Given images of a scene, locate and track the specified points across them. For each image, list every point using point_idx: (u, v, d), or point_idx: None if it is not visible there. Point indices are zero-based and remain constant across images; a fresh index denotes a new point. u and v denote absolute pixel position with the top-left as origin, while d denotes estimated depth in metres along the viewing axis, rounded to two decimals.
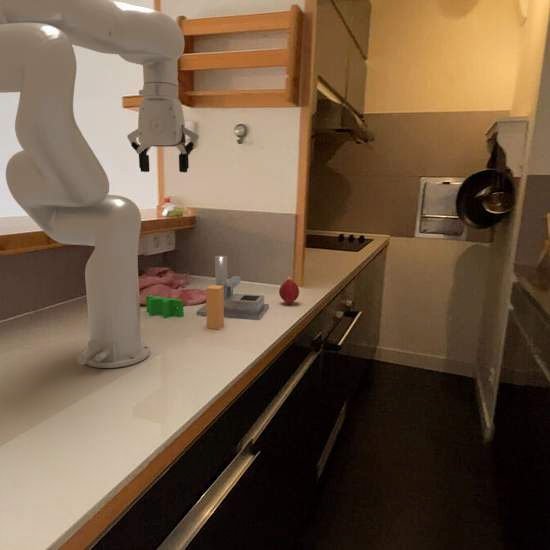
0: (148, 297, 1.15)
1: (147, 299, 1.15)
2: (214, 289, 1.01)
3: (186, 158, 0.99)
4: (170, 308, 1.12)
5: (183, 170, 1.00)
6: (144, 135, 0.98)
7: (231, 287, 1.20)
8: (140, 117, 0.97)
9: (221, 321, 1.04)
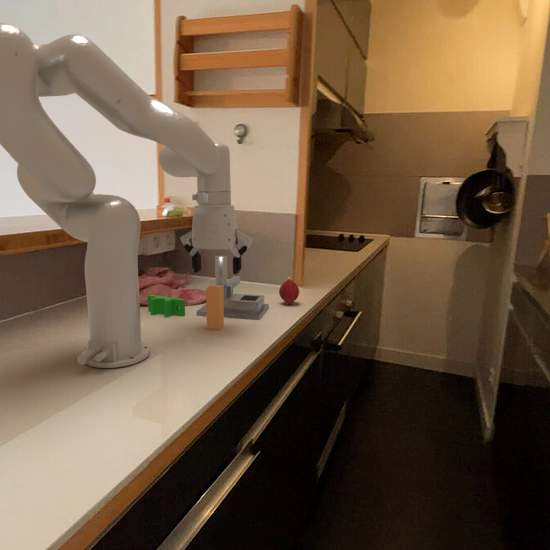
0: (150, 296, 1.16)
1: (149, 298, 1.16)
2: (214, 289, 1.01)
3: (240, 260, 1.00)
4: (172, 307, 1.13)
5: (237, 272, 1.01)
6: (198, 240, 0.98)
7: (231, 287, 1.20)
8: (194, 223, 0.98)
9: (221, 321, 1.04)
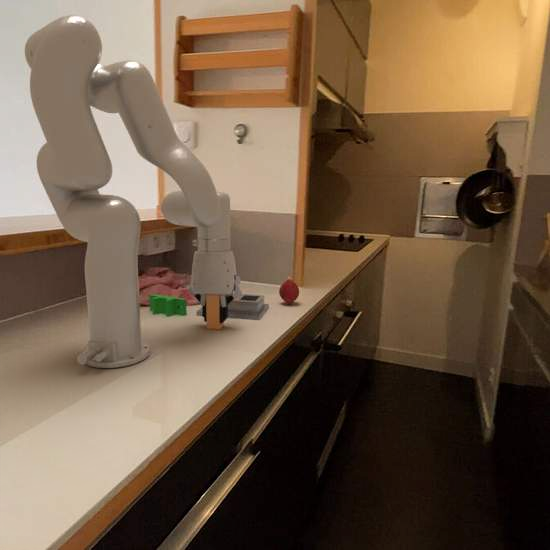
0: (151, 296, 1.16)
1: (150, 298, 1.17)
2: None
3: (226, 309, 1.03)
4: (173, 307, 1.14)
5: (223, 321, 1.03)
6: (197, 285, 1.00)
7: None
8: (194, 268, 1.00)
9: None
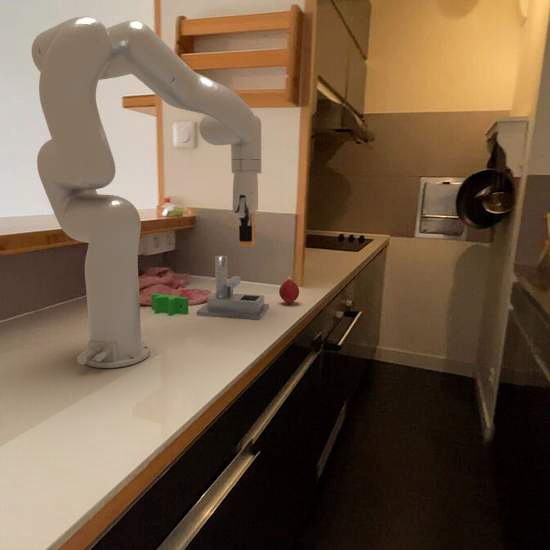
0: (153, 295, 1.17)
1: (152, 297, 1.17)
2: None
3: (243, 229, 1.08)
4: (175, 306, 1.14)
5: (242, 240, 1.10)
6: None
7: (231, 287, 1.20)
8: None
9: None
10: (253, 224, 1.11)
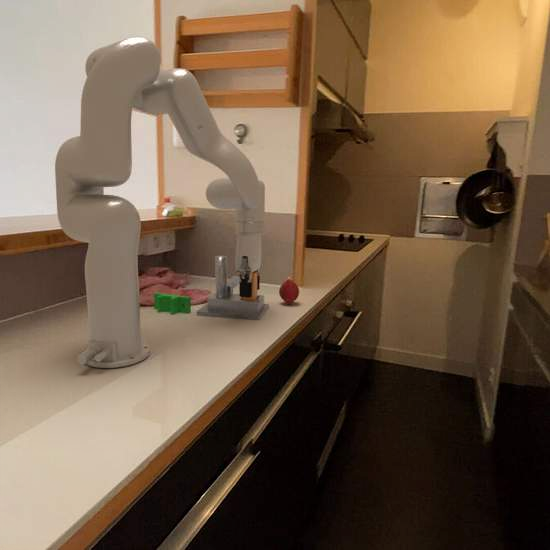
0: (156, 294, 1.18)
1: (155, 296, 1.18)
2: None
3: (243, 286, 1.10)
4: (178, 305, 1.15)
5: (242, 295, 1.12)
6: None
7: (231, 287, 1.20)
8: None
9: None
10: (255, 288, 1.16)
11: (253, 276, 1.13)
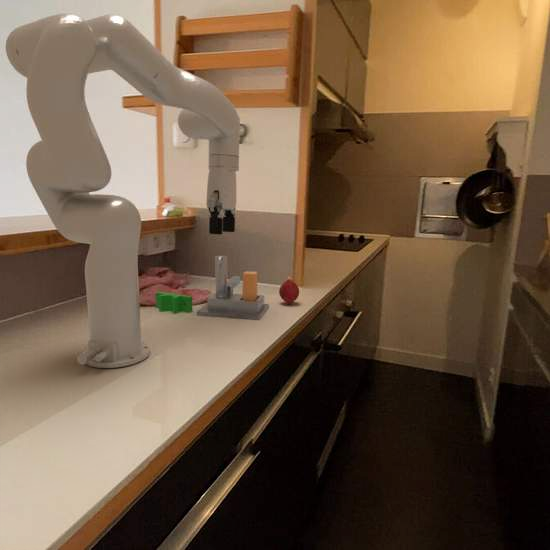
0: (158, 294, 1.19)
1: (157, 296, 1.19)
2: (244, 273, 1.15)
3: (213, 221, 1.04)
4: (179, 304, 1.16)
5: (212, 232, 1.05)
6: None
7: (231, 287, 1.20)
8: None
9: None
10: (255, 288, 1.16)
11: (253, 276, 1.13)
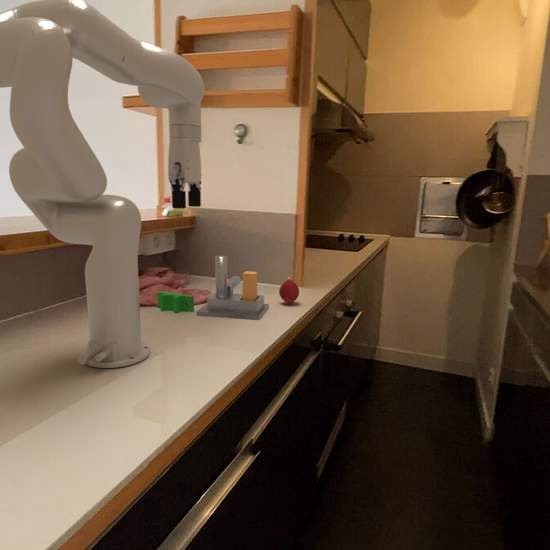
0: (159, 293, 1.20)
1: (158, 295, 1.20)
2: (244, 273, 1.15)
3: (175, 194, 1.00)
4: (181, 303, 1.17)
5: (176, 206, 1.01)
6: None
7: (231, 287, 1.20)
8: None
9: None
10: (255, 288, 1.16)
11: (253, 276, 1.13)
